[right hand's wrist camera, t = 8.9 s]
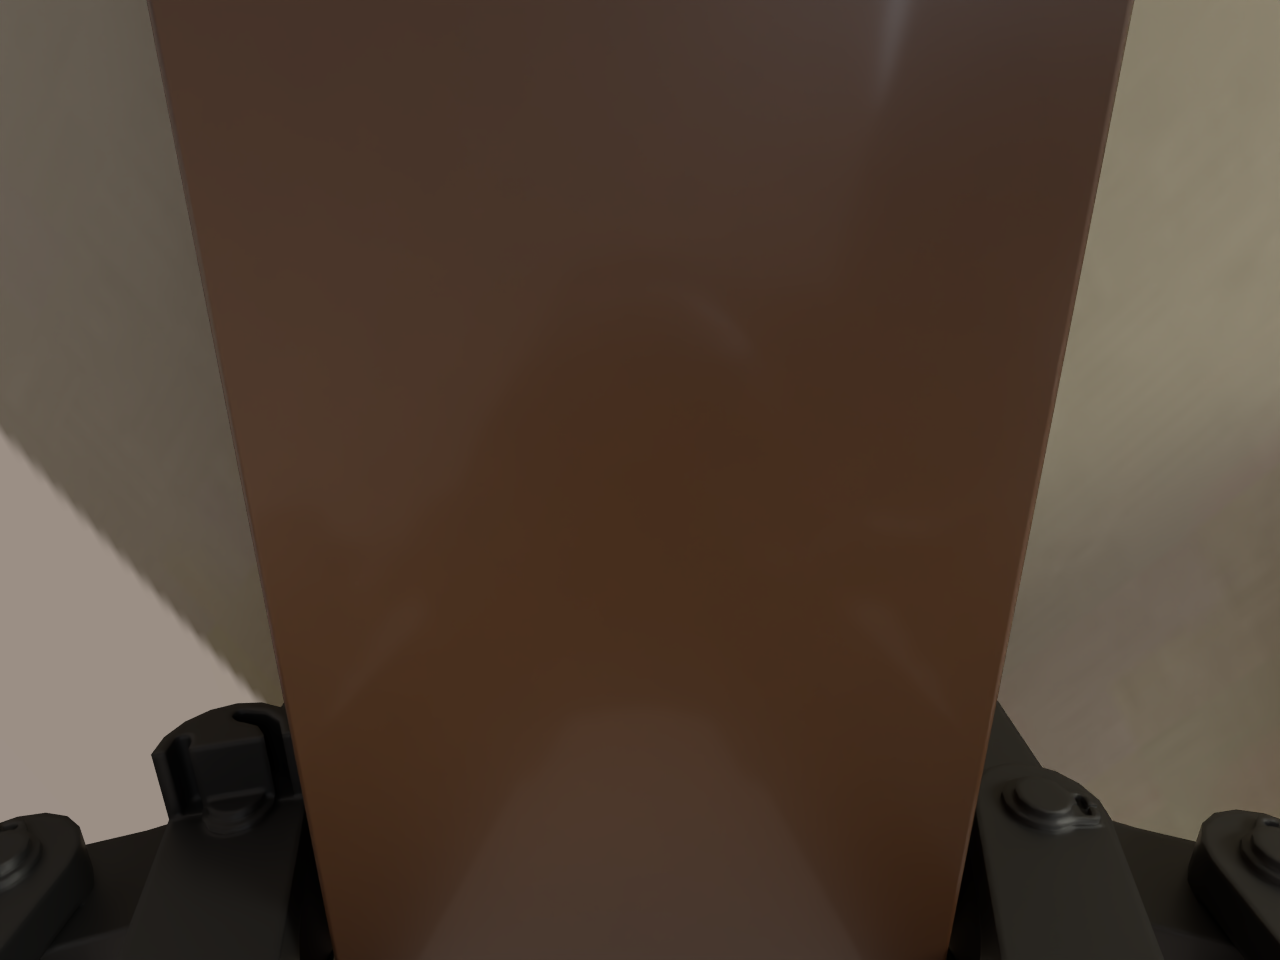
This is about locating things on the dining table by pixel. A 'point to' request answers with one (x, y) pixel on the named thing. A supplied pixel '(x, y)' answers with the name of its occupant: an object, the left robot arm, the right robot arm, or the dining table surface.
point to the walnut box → (640, 442)
